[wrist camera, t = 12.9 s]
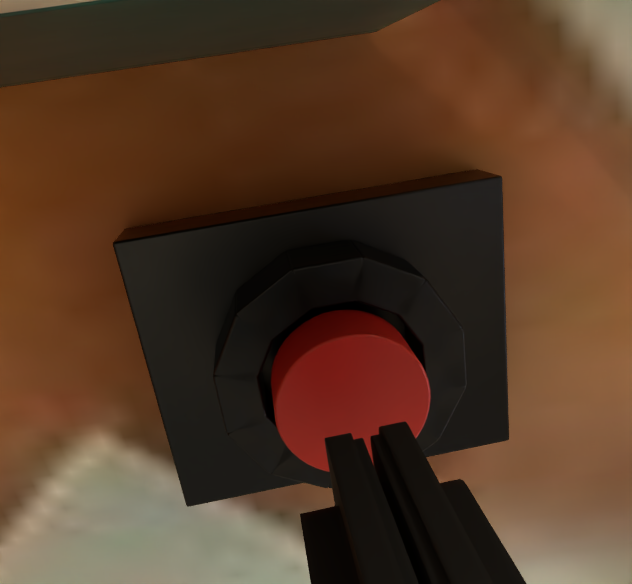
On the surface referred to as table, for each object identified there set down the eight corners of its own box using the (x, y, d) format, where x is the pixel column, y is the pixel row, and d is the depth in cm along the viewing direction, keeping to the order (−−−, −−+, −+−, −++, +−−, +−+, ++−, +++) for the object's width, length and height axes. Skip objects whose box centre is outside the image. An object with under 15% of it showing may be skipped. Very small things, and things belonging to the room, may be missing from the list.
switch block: (190, 474, 20) (181, 550, 16) (123, 228, 16) (94, 261, 13) (488, 413, 20) (536, 474, 17) (478, 168, 17) (535, 185, 14)
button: (283, 448, 16) (288, 488, 14) (258, 323, 15) (261, 351, 13) (416, 421, 16) (436, 457, 15) (405, 296, 15) (425, 320, 13)
